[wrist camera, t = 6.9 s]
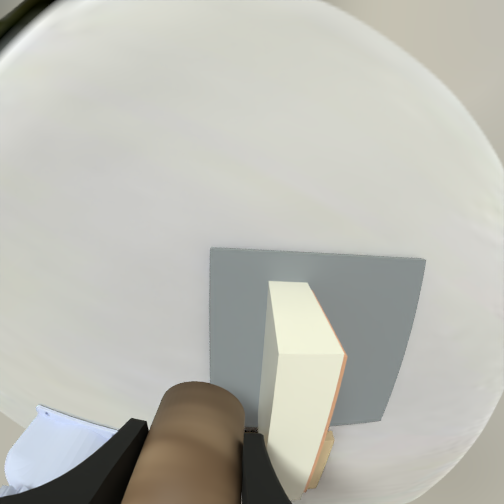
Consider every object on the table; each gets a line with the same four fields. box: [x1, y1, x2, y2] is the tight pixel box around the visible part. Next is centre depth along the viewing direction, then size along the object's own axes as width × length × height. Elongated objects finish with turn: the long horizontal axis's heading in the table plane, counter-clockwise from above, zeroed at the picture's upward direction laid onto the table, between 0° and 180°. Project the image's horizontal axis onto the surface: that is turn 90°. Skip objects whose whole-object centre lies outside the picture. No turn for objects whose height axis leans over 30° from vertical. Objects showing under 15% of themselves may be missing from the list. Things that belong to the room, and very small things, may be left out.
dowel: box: [121, 381, 245, 504], centre depth 8 cm, size 4×4×7 cm
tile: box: [258, 281, 347, 500], centre depth 13 cm, size 2×9×7 cm, turn 177°
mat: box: [209, 247, 426, 427], centre depth 16 cm, size 12×12×1 cm
